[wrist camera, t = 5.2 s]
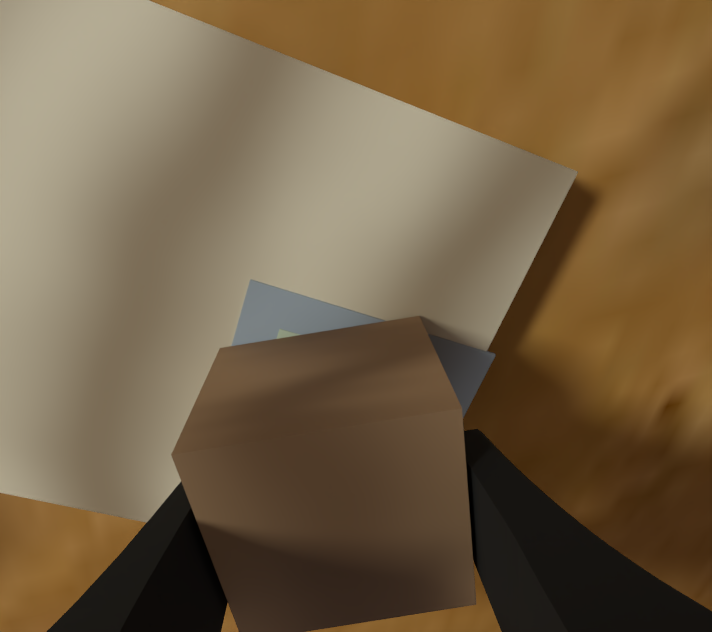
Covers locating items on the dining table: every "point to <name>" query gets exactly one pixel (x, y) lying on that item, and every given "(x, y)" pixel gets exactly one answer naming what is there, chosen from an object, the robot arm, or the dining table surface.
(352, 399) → the walnut block
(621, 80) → the dining table surface
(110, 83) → the base board
